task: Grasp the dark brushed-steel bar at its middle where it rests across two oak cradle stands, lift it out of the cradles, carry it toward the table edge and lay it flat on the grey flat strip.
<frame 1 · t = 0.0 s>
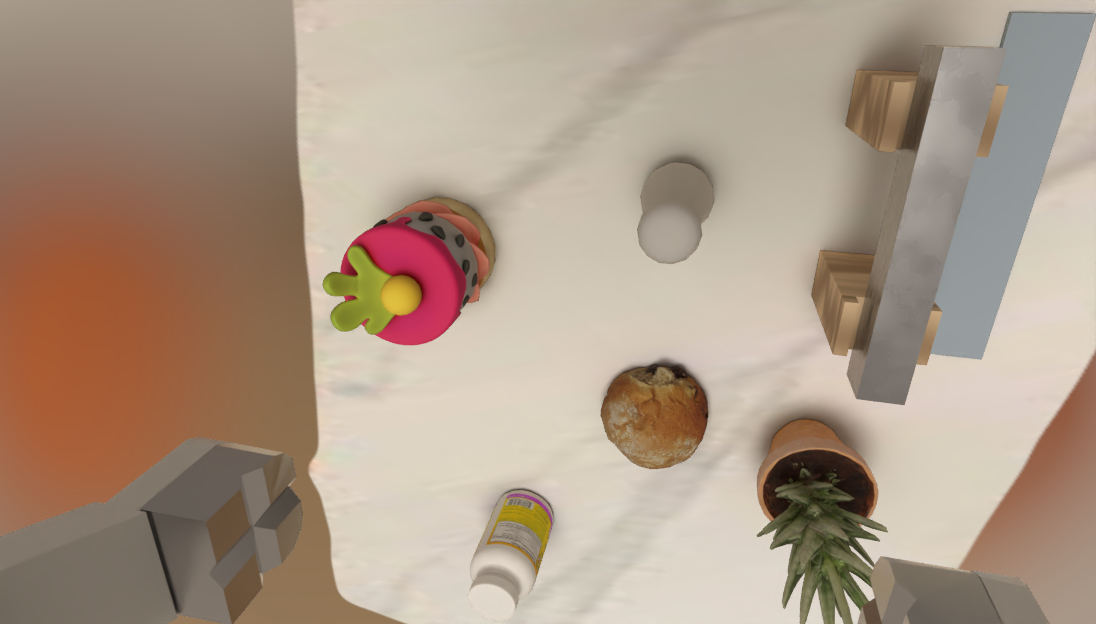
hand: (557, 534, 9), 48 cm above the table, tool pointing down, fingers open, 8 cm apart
supplement bottle: (526, 510, 72), on the table
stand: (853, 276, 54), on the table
bar: (906, 228, 42), point 10 cm above the table, touching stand, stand
bread roll: (656, 403, 63), on the table
potted plant: (803, 442, 61), on the table
cake: (447, 247, 62), on the table
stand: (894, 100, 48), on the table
salt shaker: (678, 191, 54), on the table
grey flat strip: (992, 201, 49), on the table
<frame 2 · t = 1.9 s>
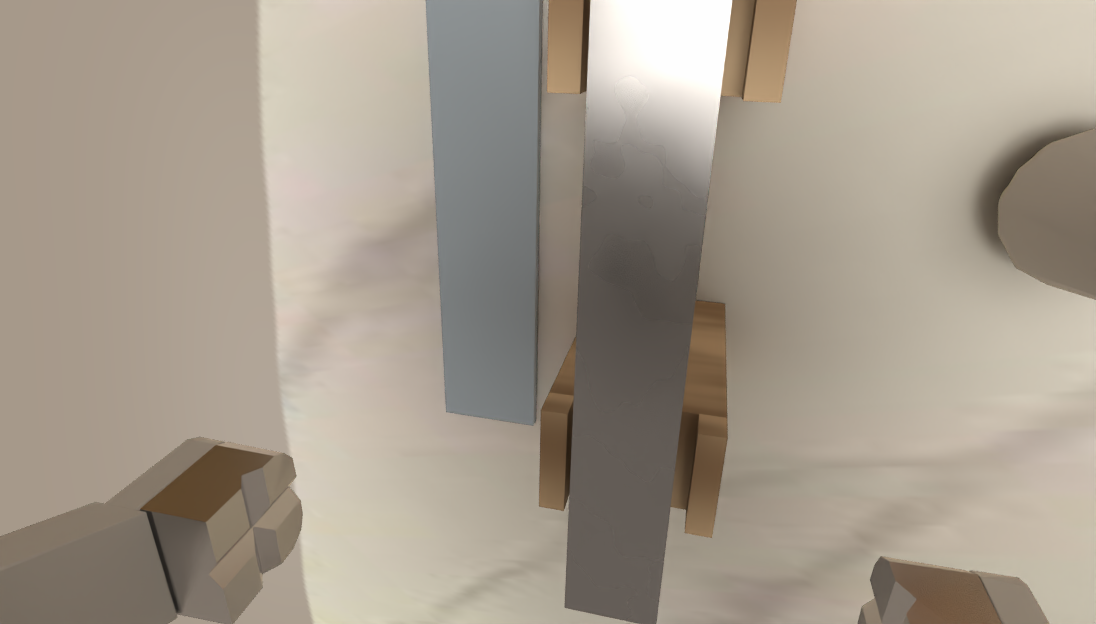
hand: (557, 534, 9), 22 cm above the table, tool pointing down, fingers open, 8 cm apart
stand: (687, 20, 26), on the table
bar: (648, 264, 20), point 10 cm above the table, touching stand, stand
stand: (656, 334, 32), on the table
salt shaker: (1058, 194, 25), on the table
grey flat strip: (488, 179, 31), on the table
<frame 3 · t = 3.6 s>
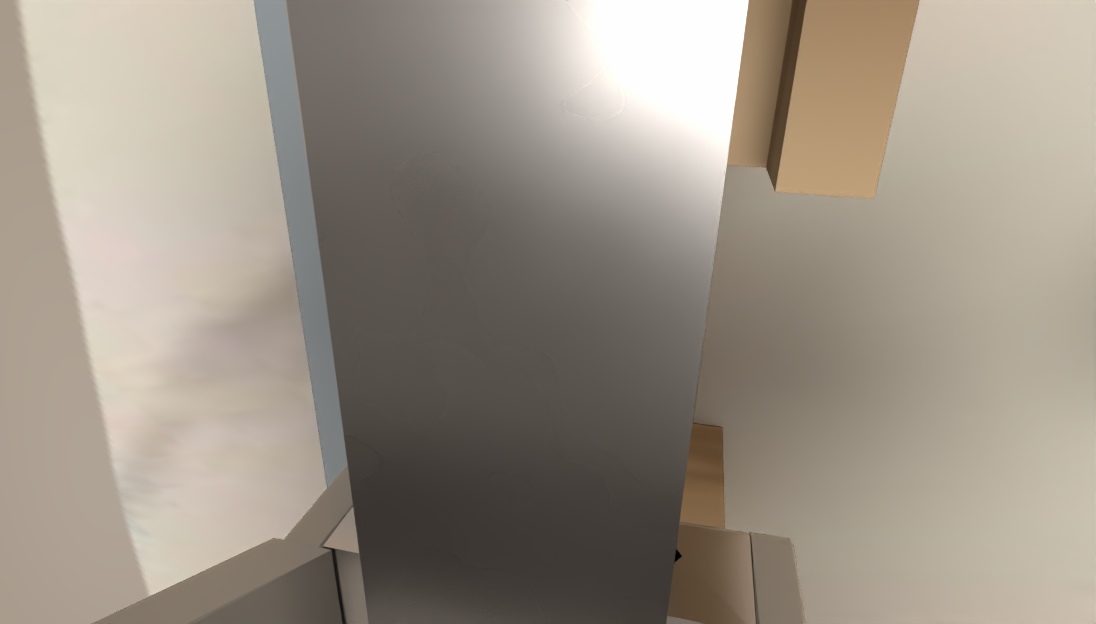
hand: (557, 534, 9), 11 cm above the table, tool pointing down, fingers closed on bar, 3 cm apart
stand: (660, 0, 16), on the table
bar: (571, 487, 10), point 10 cm above the table, touching gripper, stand, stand
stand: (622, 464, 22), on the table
grey flat strip: (369, 242, 20), on the table
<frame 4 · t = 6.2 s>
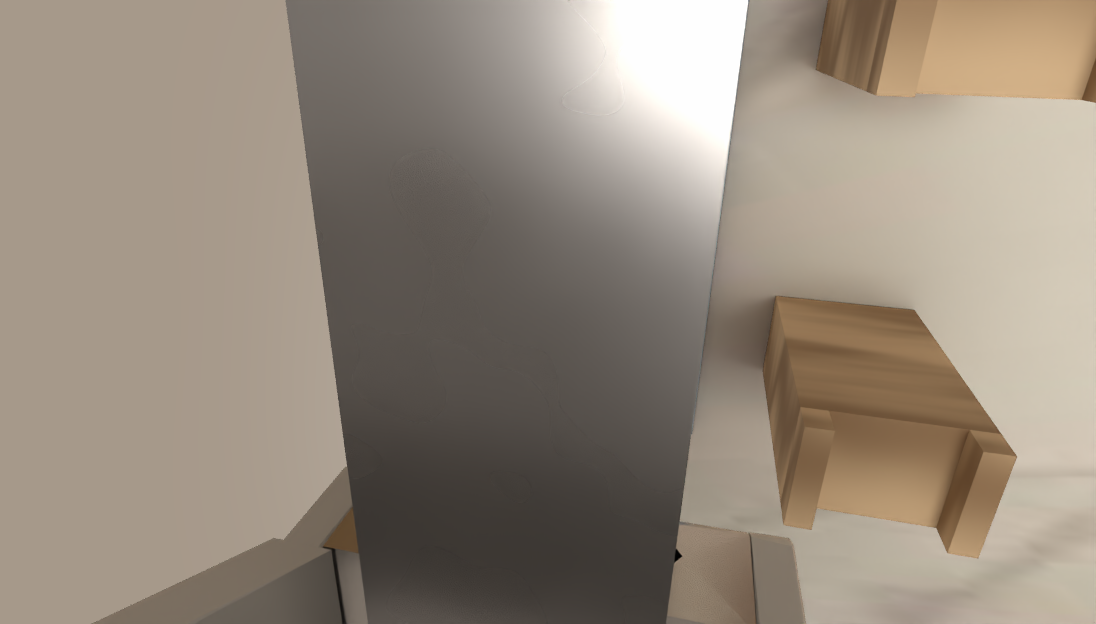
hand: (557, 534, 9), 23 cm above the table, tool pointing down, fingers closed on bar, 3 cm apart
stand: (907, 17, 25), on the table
bar: (572, 486, 10), point 22 cm above the table, touching gripper
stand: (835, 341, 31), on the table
grey flat strip: (668, 182, 30), on the table
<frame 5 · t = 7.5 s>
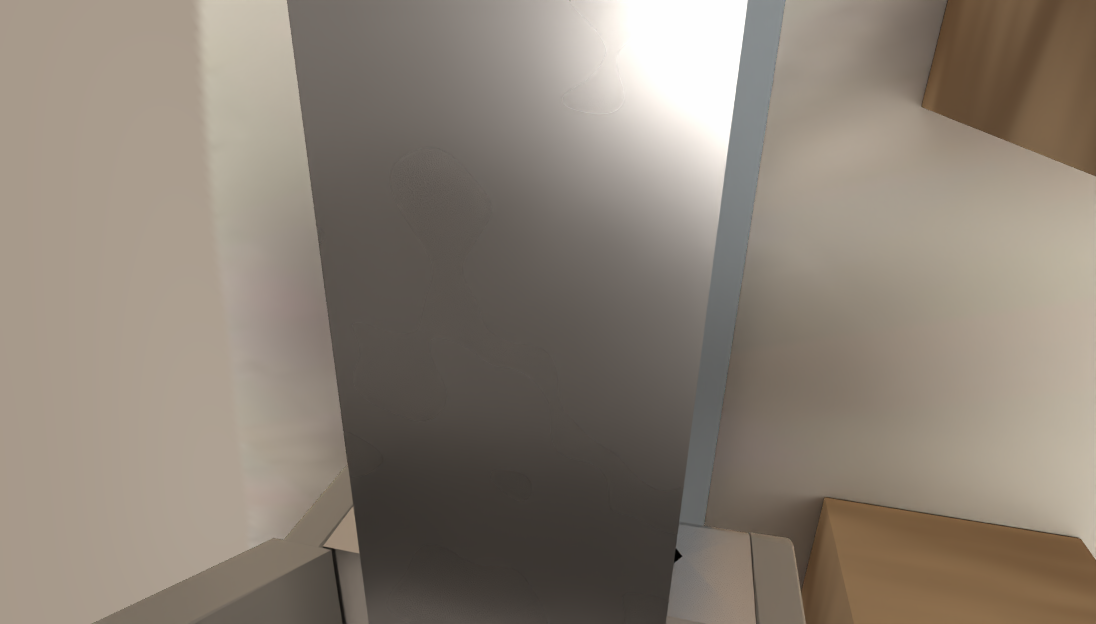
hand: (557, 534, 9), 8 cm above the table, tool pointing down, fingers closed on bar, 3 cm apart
bar: (572, 486, 10), point 7 cm above the table, touching gripper
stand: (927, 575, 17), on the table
grey flat strip: (632, 302, 16), on the table
when the fingers open (3 cm above the table, at t = 8.7 s): bar drops 1 cm, resting on grey flat strip.
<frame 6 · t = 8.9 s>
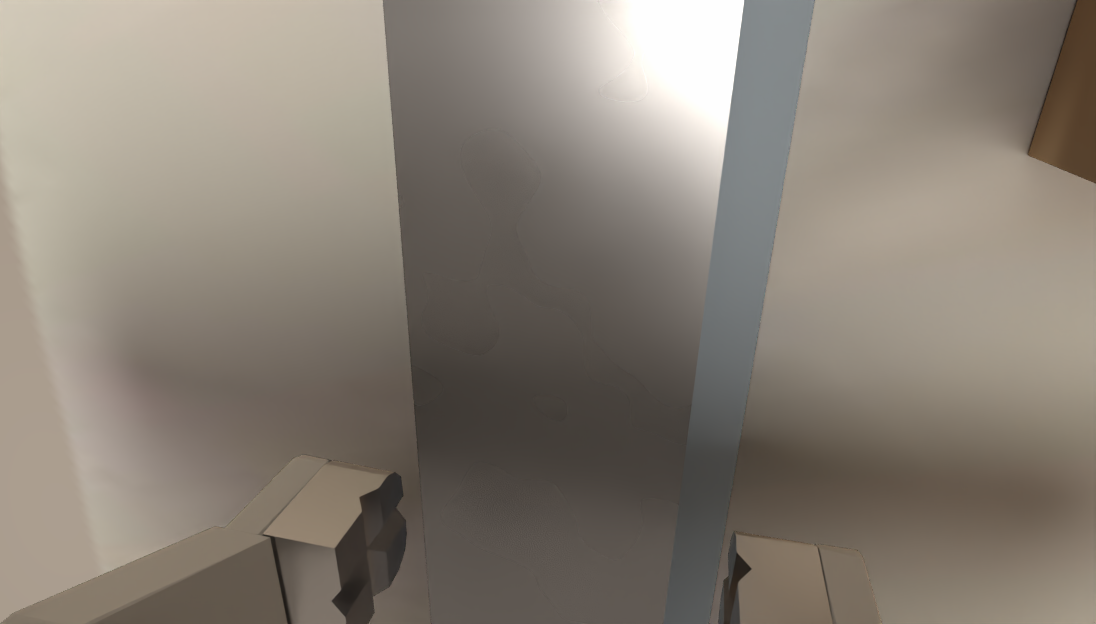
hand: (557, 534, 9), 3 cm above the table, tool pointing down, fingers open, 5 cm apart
bar: (589, 437, 11), resting on grey flat strip
grey flat strip: (591, 419, 12), on the table
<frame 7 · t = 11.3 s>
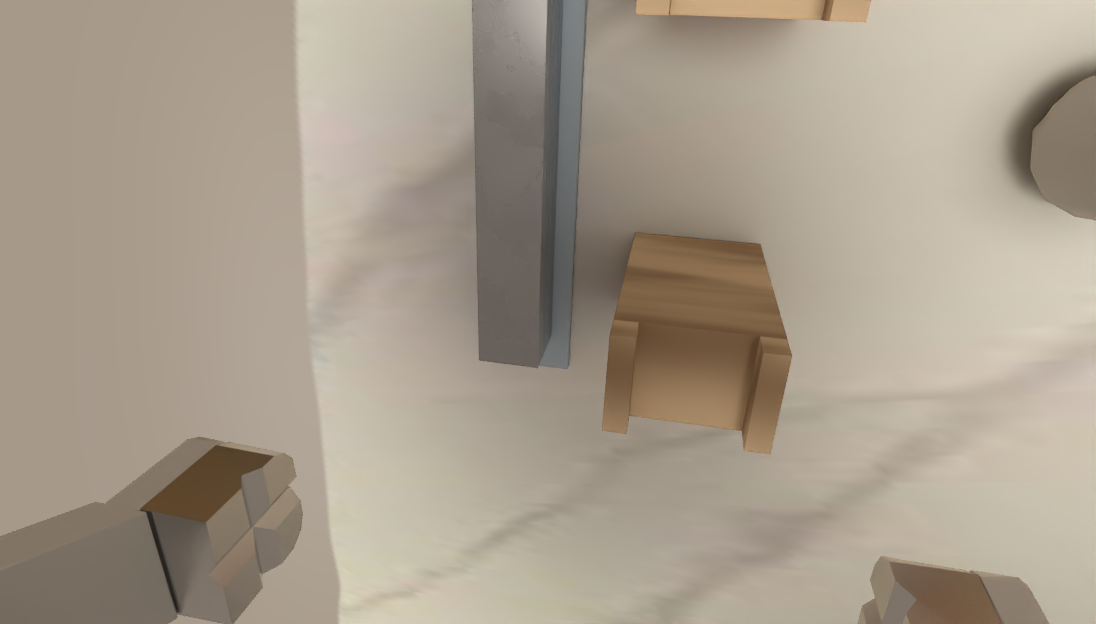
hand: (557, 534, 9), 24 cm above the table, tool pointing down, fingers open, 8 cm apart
bar: (527, 125, 30), resting on grey flat strip
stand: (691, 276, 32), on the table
salt shaker: (1085, 132, 27), on the table
grey flat strip: (529, 122, 31), on the table
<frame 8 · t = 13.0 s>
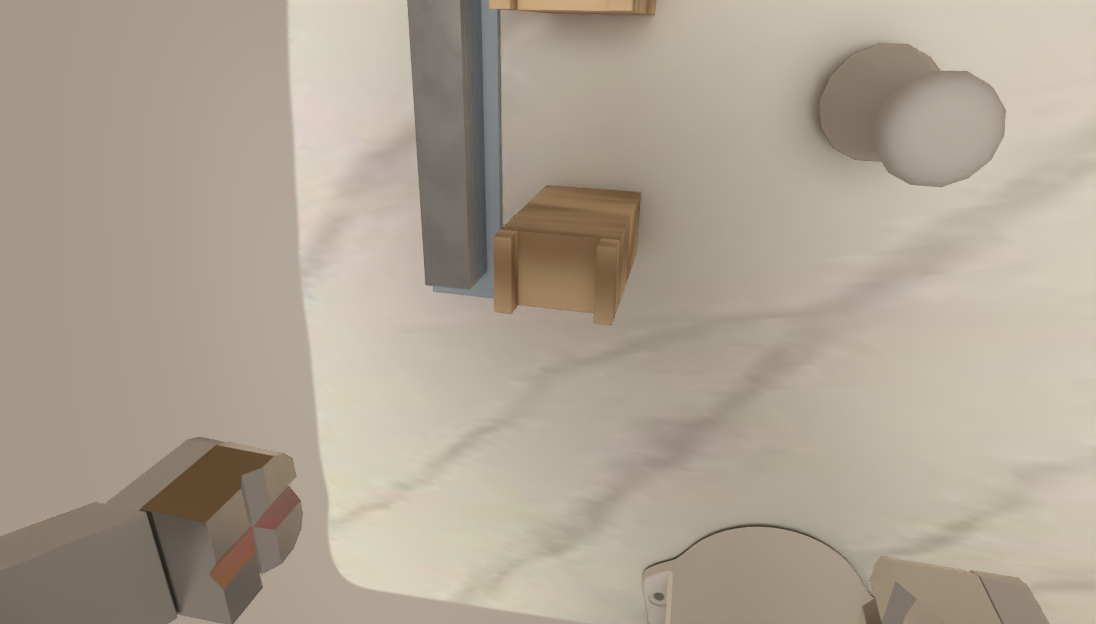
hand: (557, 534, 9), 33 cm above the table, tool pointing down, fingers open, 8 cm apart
bar: (460, 101, 40), resting on grey flat strip
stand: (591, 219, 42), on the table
salt shaker: (869, 99, 35), on the table
grey flat strip: (462, 99, 40), on the table
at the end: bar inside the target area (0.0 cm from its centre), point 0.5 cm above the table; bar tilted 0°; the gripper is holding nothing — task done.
